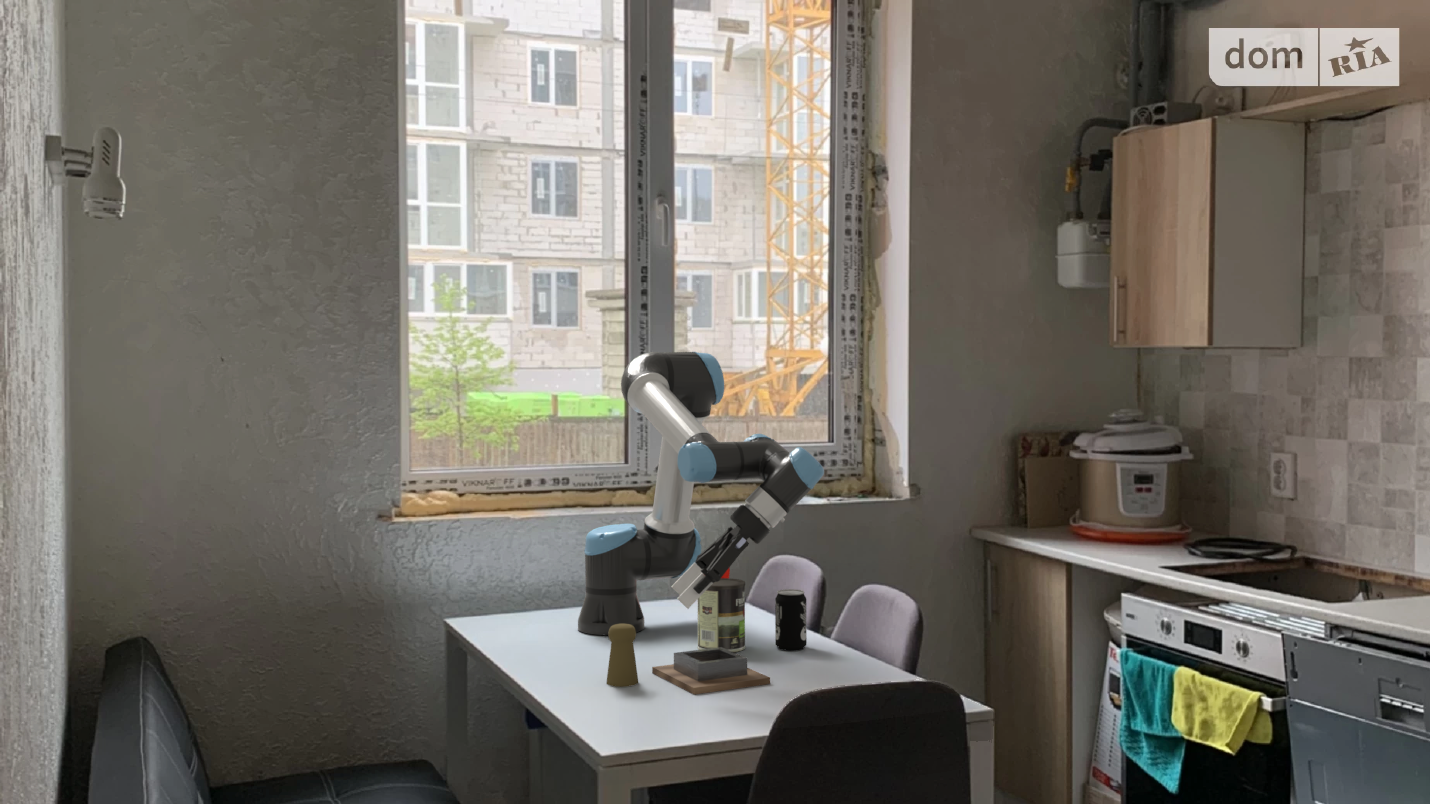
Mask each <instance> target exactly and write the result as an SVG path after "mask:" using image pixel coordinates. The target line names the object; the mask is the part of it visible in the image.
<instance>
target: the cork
mask: <svg viewBox="0 0 1430 804" xmlns="http://www.w3.org/2000/svg"><path fill="white" fill-rule="evenodd" d="M607 636H608V639H609V641H610V643H611V644H610V651H609V660H608V665H607V666H608V667H607V675H606V685H608V686H610V687H616V688H617V687H619V688H623V687H624V688H626V687H632V686H636V685H638V684H639V677H638V669H637V661H636V655H635V647H634V641H635V639H636V638H637V637H636V636H637V632H636V630H635V628H634V626H632V625H630V624H615V625H613V626H611V627H610V629H609V632H608V635H607Z"/></svg>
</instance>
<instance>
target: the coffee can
mask: <svg viewBox="0 0 1430 804" xmlns="http://www.w3.org/2000/svg"><path fill="white" fill-rule="evenodd" d="M745 587H746V581H745V580H742V579H739V578H738V579H737V578H730V577H729V578H721V579H720V580H719V581H718V582H714V583H713V584H712V585H711V586H710V587H709V588H708V589H707V590H706V591H705V592H704V593H703V594H702V595H701V596H700V597H699V598H698V599H697V600H696V602H697V647H696V648H697V650H702V649H710V648H719V647H722V648H725V649H727V650H729V651H732V652H734V653H738V652H741V651H744V650H745V649H746V608H745V607H746V598H745V597H746V591H745V590H746V588H745Z"/></svg>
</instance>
